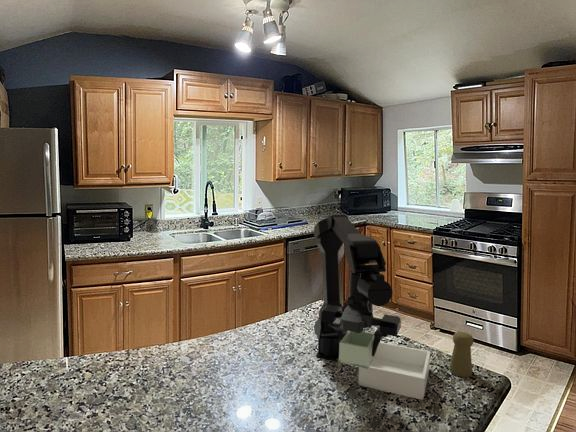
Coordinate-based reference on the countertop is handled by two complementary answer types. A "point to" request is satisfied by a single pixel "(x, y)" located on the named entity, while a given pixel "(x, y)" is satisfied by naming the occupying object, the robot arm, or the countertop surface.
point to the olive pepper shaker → (461, 355)
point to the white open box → (397, 370)
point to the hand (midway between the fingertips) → (358, 352)
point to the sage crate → (357, 349)
